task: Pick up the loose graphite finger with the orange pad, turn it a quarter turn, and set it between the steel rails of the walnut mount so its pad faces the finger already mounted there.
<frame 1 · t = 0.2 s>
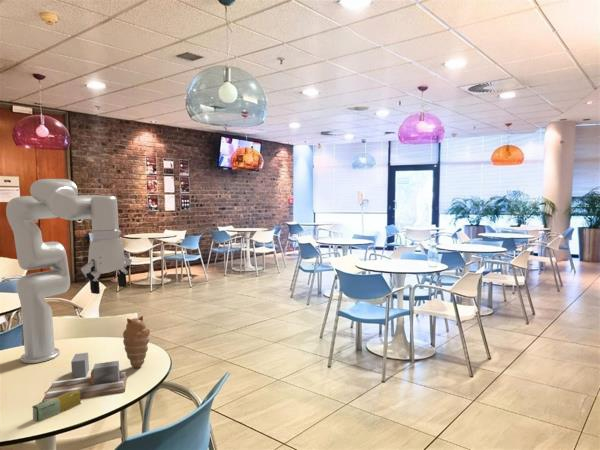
hand: (109, 289, 134), 31 cm above the table, tool pointing down, fingers open, 9 cm apart
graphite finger: (81, 374, 144), on the table
cat ice cream: (137, 367, 149), on the table
medication box: (58, 412, 120), on the table
rail mount: (88, 388, 133), on the table
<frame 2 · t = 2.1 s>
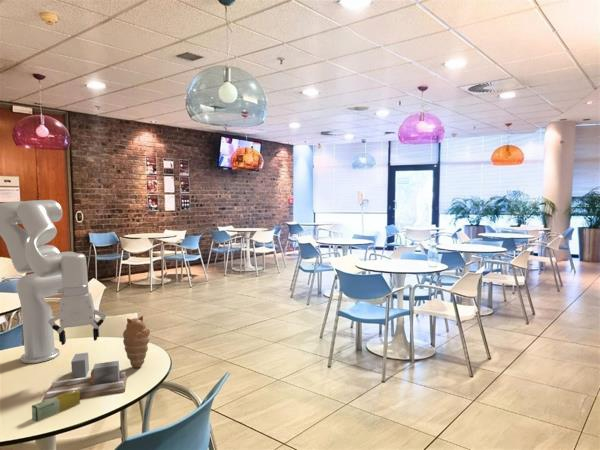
hand: (79, 341, 143), 11 cm above the table, tool pointing down, fingers open, 9 cm apart
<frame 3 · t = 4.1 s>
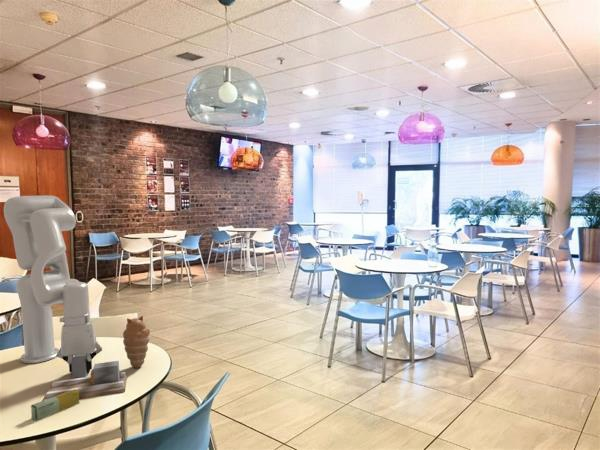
hand: (81, 372, 144), 1 cm above the table, tool pointing down, fingers closed on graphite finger, 3 cm apart
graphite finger: (80, 374, 144), on the table, touching gripper
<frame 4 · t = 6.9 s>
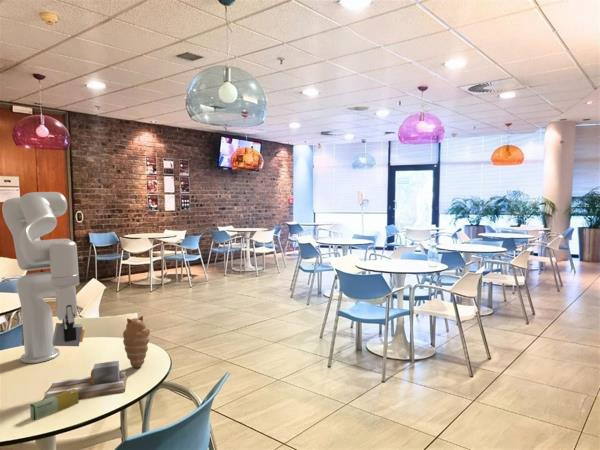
hand: (69, 338, 134), 16 cm above the table, tool pointing down, fingers closed on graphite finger, 3 cm apart
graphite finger: (65, 344, 133), point 14 cm above the table, tilted 14°, touching gripper
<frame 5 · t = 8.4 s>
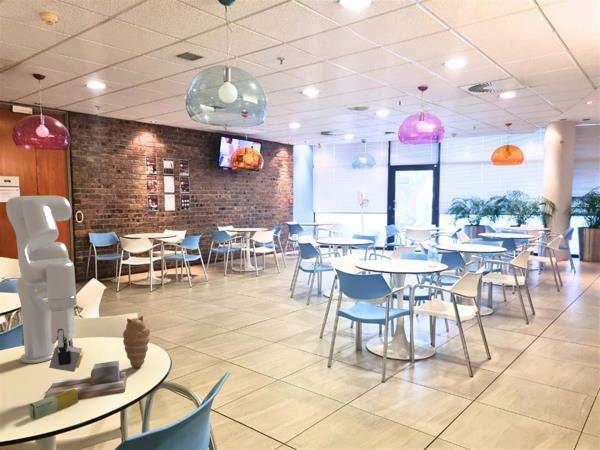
hand: (66, 360, 131), 10 cm above the table, tool pointing down, fingers closed on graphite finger, 3 cm apart
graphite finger: (63, 367, 130), point 8 cm above the table, tilted 19°, touching gripper
when the fingers open (4 cm above the table, at t = 9.8 s): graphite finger drops 1 cm, resting on rail mount.
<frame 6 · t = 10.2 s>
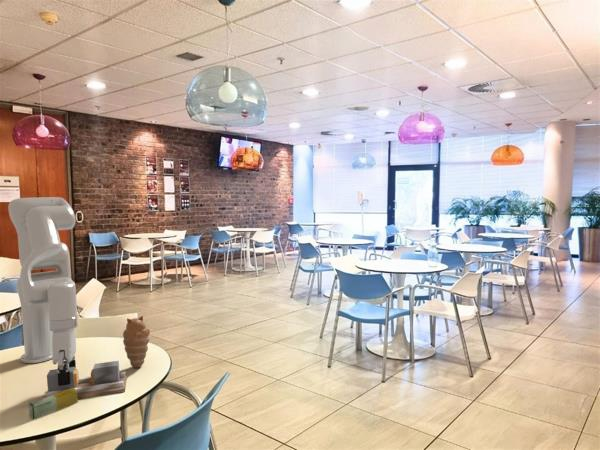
hand: (67, 378, 131), 4 cm above the table, tool pointing down, fingers open, 8 cm apart
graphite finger: (62, 389, 131), point 1 cm above the table, touching rail mount
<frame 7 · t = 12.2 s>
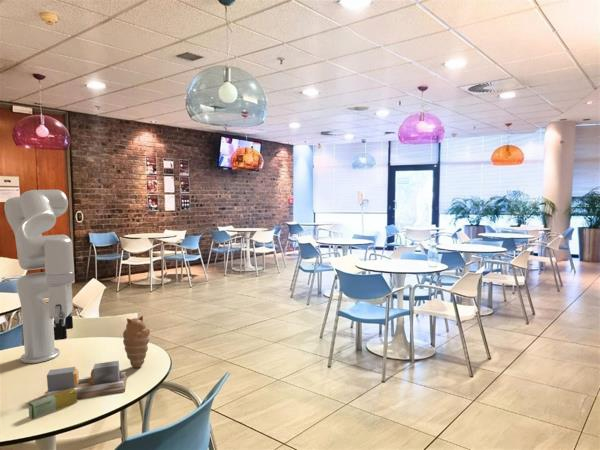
hand: (64, 333, 130), 18 cm above the table, tool pointing down, fingers open, 9 cm apart
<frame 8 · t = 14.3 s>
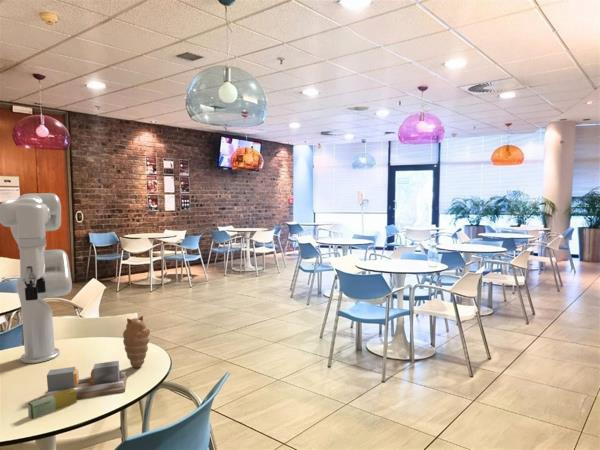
hand: (36, 296, 137), 28 cm above the table, tool pointing down, fingers open, 9 cm apart
at the end: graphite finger 1.6 cm from the target spot on the rail mount, point 1.0 cm above the rail mount's base; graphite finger tilted 0°; the gripper is holding nothing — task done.
